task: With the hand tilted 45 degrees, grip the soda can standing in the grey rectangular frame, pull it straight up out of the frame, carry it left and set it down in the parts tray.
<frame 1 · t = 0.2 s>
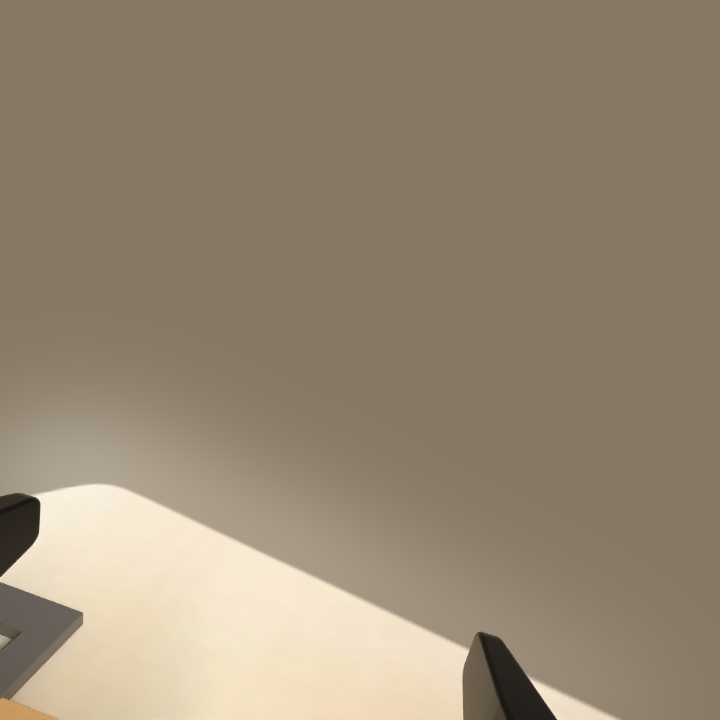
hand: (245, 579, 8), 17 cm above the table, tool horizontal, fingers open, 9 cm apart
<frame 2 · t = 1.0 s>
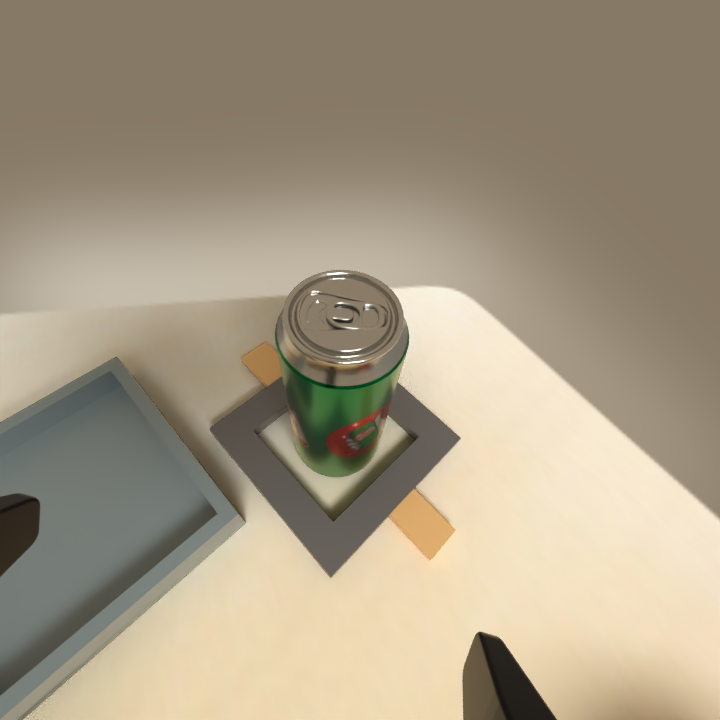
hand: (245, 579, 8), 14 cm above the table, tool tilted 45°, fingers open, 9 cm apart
grey rectangular frame: (336, 438, 24), on the table
soda can: (336, 439, 24), resting in grey rectangular frame
parts tray: (76, 518, 20), on the table
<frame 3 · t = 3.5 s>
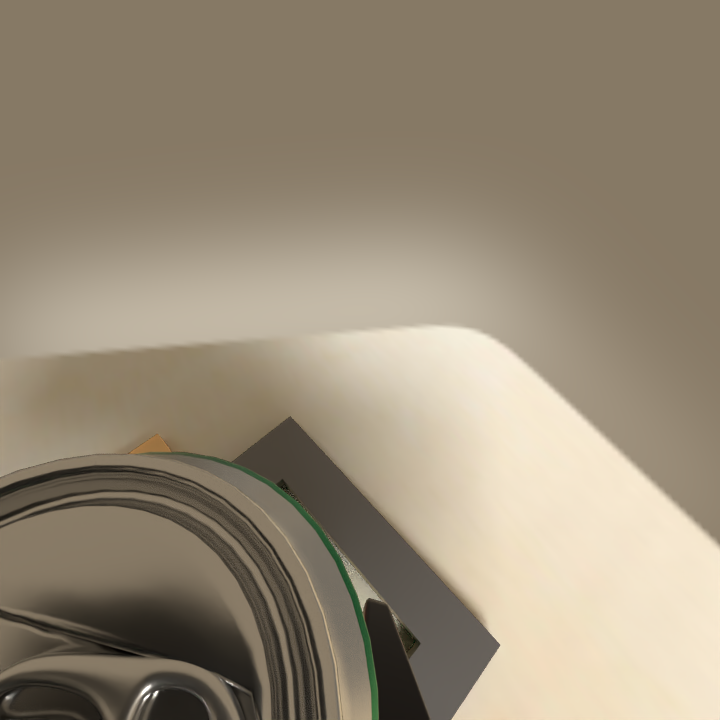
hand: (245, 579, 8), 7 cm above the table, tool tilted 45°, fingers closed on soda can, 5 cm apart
grey rectangular frame: (265, 638, 13), on the table
soda can: (266, 638, 13), resting in grey rectangular frame, touching gripper
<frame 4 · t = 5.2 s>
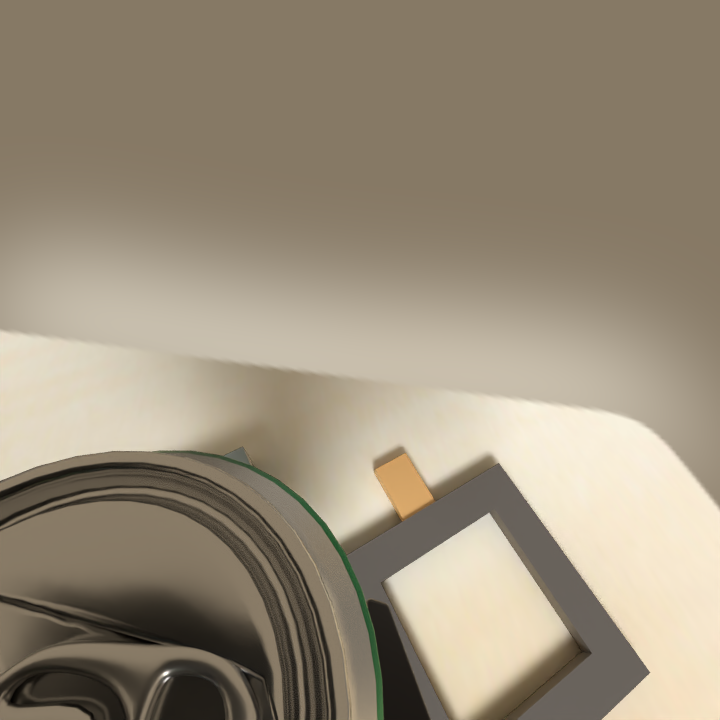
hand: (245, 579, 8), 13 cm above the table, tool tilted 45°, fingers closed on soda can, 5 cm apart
grey rectangular frame: (478, 616, 19), on the table
soda can: (266, 638, 13), point 6 cm above the table, touching gripper
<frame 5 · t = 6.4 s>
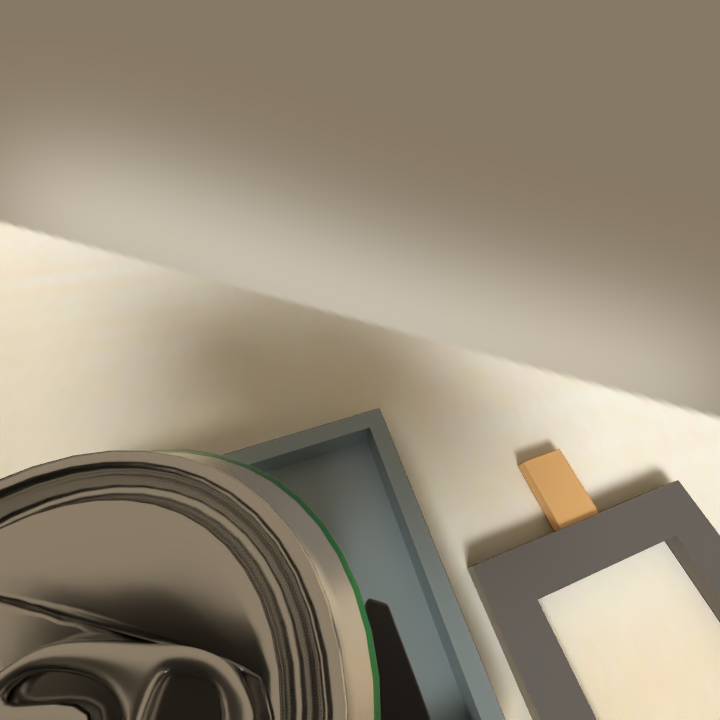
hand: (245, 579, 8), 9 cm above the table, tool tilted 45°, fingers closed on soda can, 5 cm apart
grey rectangular frame: (656, 666, 15), on the table
soda can: (265, 638, 13), point 2 cm above the table, touching gripper
parts tray: (277, 624, 14), on the table
when the fingers open (9 cm above the table, at t = 6.8 s): soda can stays where it is, resting on parts tray.
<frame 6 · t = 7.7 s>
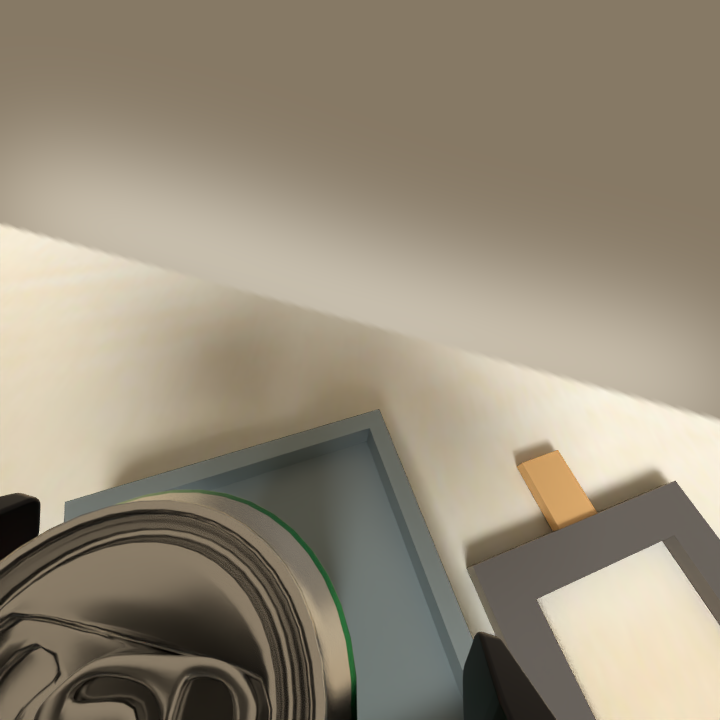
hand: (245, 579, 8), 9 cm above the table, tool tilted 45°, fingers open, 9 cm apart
grey rectangular frame: (655, 666, 15), on the table
soda can: (268, 637, 14), resting on parts tray
parts tray: (277, 623, 15), on the table
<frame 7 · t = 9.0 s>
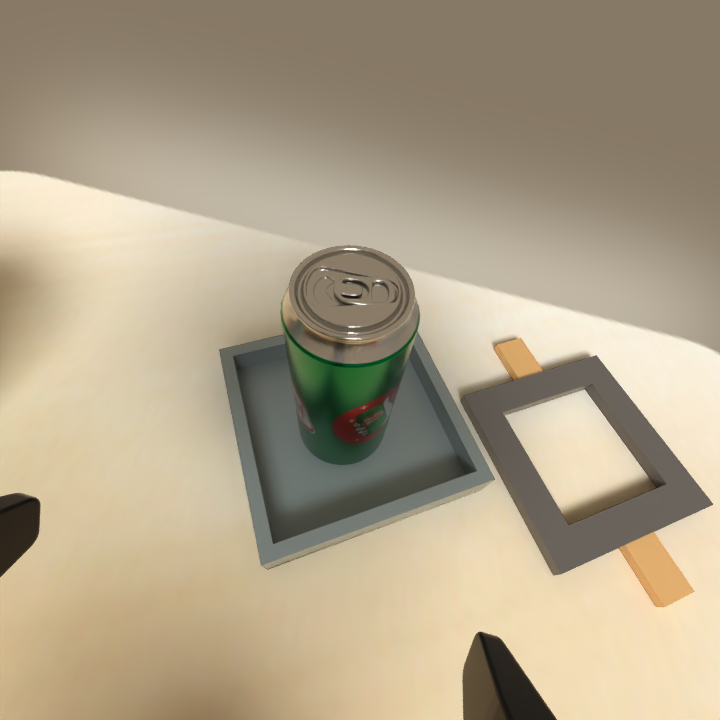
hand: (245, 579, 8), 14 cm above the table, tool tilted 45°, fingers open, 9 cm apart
grey rectangular frame: (574, 451, 24), on the table
soda can: (342, 428, 23), resting on parts tray
parts tray: (345, 425, 24), on the table
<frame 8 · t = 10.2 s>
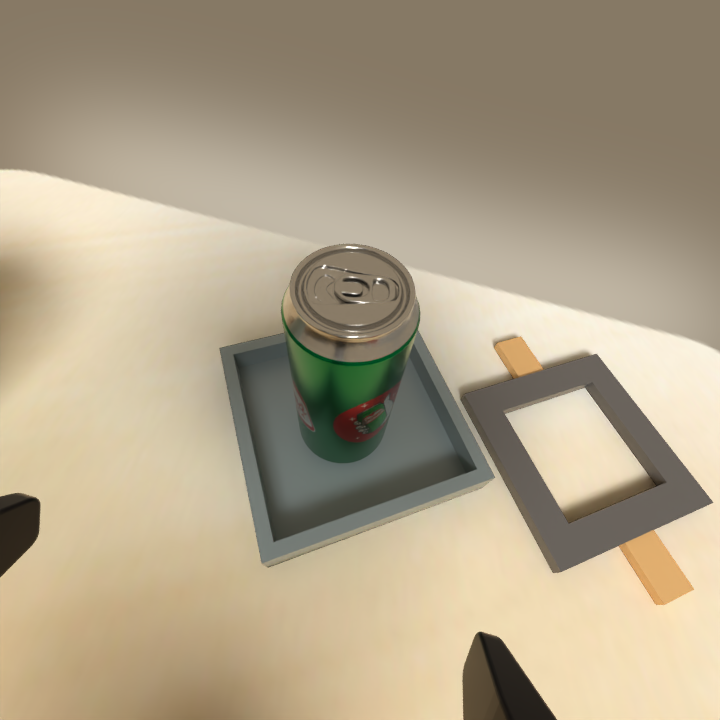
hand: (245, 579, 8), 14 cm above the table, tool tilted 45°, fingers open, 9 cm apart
grey rectangular frame: (574, 449, 24), on the table
soda can: (342, 426, 23), resting on parts tray
parts tray: (346, 423, 24), on the table
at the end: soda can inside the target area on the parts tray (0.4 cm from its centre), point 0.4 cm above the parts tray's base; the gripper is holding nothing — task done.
